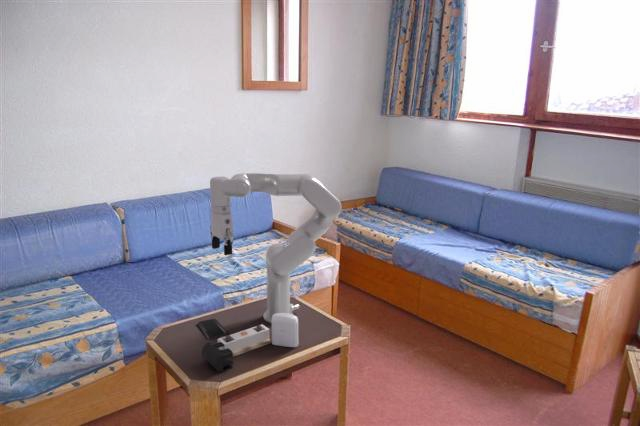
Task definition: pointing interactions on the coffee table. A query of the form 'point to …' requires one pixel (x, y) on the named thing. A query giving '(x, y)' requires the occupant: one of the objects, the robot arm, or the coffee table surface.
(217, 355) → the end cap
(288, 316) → the photo printer
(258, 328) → the board
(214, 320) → the phone
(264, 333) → the white long block
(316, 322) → the coffee table surface
